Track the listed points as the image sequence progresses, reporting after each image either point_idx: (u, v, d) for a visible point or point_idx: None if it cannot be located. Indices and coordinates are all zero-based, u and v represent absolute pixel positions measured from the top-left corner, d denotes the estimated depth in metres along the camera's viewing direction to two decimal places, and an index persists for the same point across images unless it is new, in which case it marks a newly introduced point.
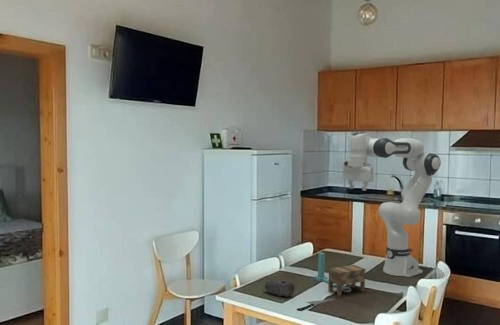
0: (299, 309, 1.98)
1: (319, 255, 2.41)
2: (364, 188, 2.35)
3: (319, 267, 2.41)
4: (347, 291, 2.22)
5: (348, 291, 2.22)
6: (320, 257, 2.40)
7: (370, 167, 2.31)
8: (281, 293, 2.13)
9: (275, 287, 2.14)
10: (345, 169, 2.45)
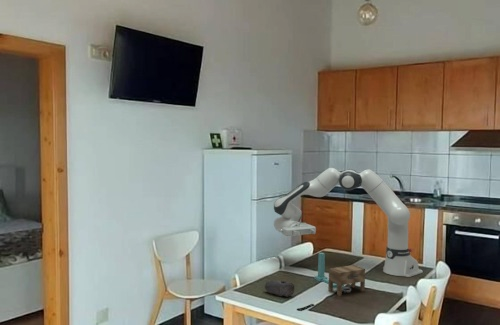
0: (299, 309, 1.98)
1: (319, 255, 2.41)
2: (298, 234, 2.50)
3: (319, 267, 2.41)
4: (347, 291, 2.22)
5: (348, 291, 2.22)
6: (320, 257, 2.40)
7: None
8: (281, 293, 2.13)
9: (275, 287, 2.15)
10: None
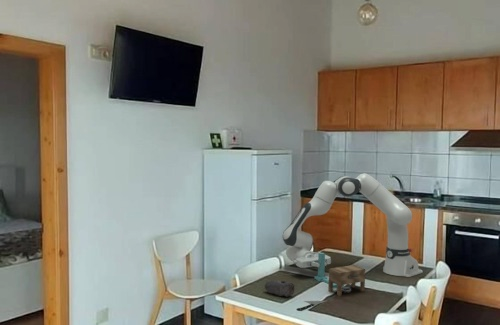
0: (299, 309, 1.98)
1: (319, 255, 2.41)
2: (317, 265, 2.40)
3: (319, 267, 2.41)
4: (347, 291, 2.22)
5: (348, 291, 2.22)
6: (320, 257, 2.40)
7: None
8: (281, 293, 2.13)
9: (275, 287, 2.15)
10: None
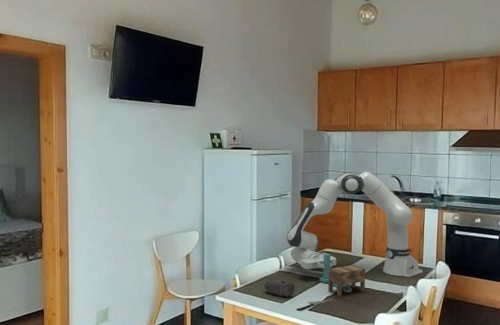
0: (299, 309, 1.98)
1: (324, 256, 2.37)
2: (322, 267, 2.36)
3: (324, 268, 2.37)
4: (347, 291, 2.22)
5: (348, 291, 2.22)
6: (326, 258, 2.36)
7: None
8: (281, 293, 2.13)
9: (275, 287, 2.15)
10: None
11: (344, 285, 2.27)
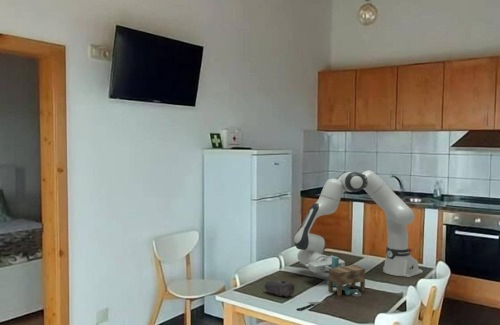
0: (299, 309, 1.98)
1: (333, 259, 2.31)
2: None
3: None
4: (356, 295, 2.16)
5: (357, 295, 2.16)
6: (334, 261, 2.30)
7: None
8: (281, 293, 2.14)
9: (275, 287, 2.15)
10: None
11: (353, 290, 2.21)
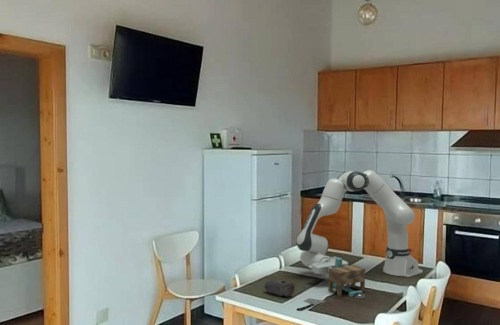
0: (299, 309, 1.98)
1: (336, 260, 2.29)
2: None
3: None
4: (359, 297, 2.14)
5: (360, 297, 2.14)
6: (337, 262, 2.28)
7: None
8: (281, 293, 2.14)
9: (275, 286, 2.15)
10: None
11: (356, 291, 2.19)
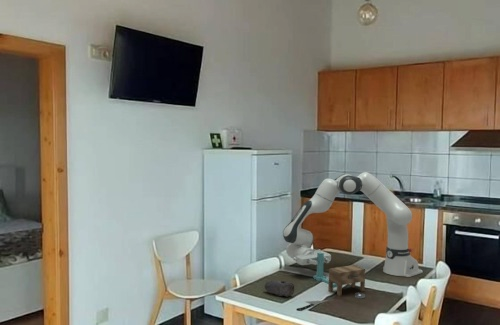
0: (299, 309, 1.98)
1: (318, 255, 2.41)
2: (314, 263, 2.39)
3: (318, 267, 2.42)
4: (359, 297, 2.14)
5: (360, 297, 2.14)
6: (319, 256, 2.40)
7: None
8: (281, 293, 2.14)
9: (275, 287, 2.15)
10: None
11: None
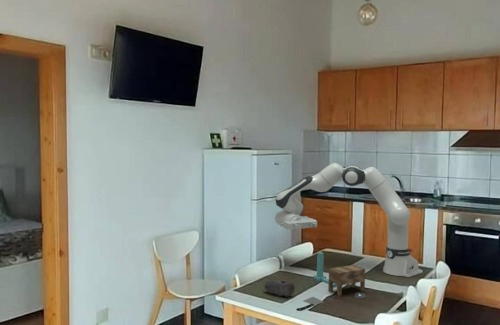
0: (299, 309, 1.98)
1: (318, 255, 2.41)
2: (299, 227, 2.49)
3: (318, 267, 2.42)
4: (358, 297, 2.14)
5: (359, 297, 2.14)
6: (319, 256, 2.41)
7: None
8: (281, 293, 2.14)
9: (275, 287, 2.15)
10: None
11: None
